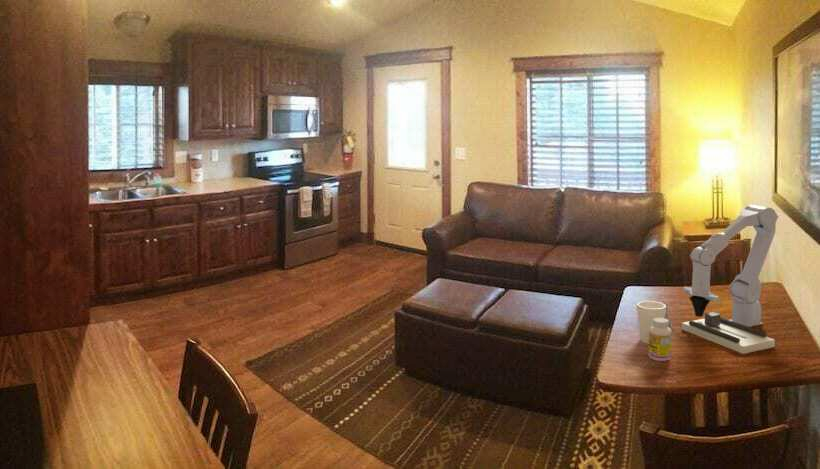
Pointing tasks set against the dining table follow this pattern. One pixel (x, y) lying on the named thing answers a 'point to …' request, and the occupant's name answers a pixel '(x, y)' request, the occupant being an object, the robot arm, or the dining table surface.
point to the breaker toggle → (712, 319)
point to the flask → (667, 316)
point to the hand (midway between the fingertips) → (699, 316)
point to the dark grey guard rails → (725, 333)
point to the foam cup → (648, 316)
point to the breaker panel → (747, 339)
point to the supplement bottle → (660, 340)
